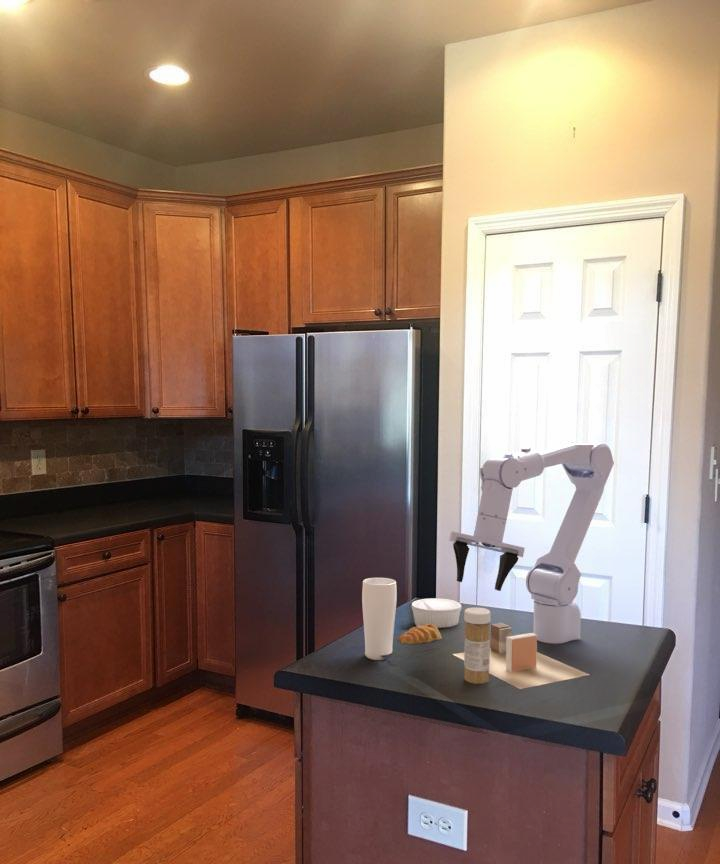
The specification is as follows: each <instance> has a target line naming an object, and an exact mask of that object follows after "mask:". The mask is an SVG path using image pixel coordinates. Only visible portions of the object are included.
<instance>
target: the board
mask: <svg viewBox="0 0 720 864" xmlns="http://www.w3.org/2000/svg"><path fill="white" fill-rule="evenodd" d="M452 655H453V656H455V657H456V658H458V659H460V660H462V661H464V652H458V653H452ZM489 675H492V676H493V677H495V678H497V679H499V680H501V681H503V682H504V683H506V684H509V685H510V686H512V687H514V688H516V689H518V690H525V689H529V688H533V687H538V686H543V685H549V684H553V683H557V682H562V681H566V680H567V681H568V680H572V679H577V678H578V679H579V678H582V677H587V676H590V674H589V673H587V672H584V671H581V670H580V669H577V668H575V667H572V666H571V665H568V664H566V663H564V662H561V661H558V659H557V660H556V659H555V658H553V657H552V658H551V657H549V656H547V655H545V654H542V653H540V652H538V651H537V667H534V668H529V669H524V670H519V671H513V672H510V671H508V670H506V653H504V654H500V653H497V652H495V651H493V650H491V647H490V666H489Z"/></svg>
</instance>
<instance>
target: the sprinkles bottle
mask: <svg viewBox="0 0 720 864" xmlns="http://www.w3.org/2000/svg"><path fill="white" fill-rule="evenodd" d="M491 614H492V613H491V610H489V609H488V608H485V607H468V608H465V610H464V614H463V615H464V616H463V617H464V619H463V621H464V623H465V624H464V628H465V629H464V648H463V649H464V652H463V653H464V660H463V662H464V663H463V665H464V680H465V681H466V682H468V683H470V684H474V685H475V684H476V685H477V684H478V685H480V684H481V685H482V684H486V683H488V682H490V679H489V678H490V674H489V666H490V648H491V638H490V626H491V622H492V621H491V619H492V618H491V616H492V615H491Z"/></svg>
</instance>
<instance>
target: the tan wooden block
mask: <svg viewBox="0 0 720 864" xmlns="http://www.w3.org/2000/svg"><path fill="white" fill-rule="evenodd" d="M512 629H513V628H512V627H510V625H508V624H505V623H503V622H498V623H490V648H491V650H493V651H495V652H497V653H500V654H504V653H506V637H509V636H513V635H512V633H513V632H512V631H513V630H512Z"/></svg>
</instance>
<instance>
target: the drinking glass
mask: <svg viewBox="0 0 720 864" xmlns="http://www.w3.org/2000/svg"><path fill="white" fill-rule="evenodd" d="M361 589H362V590H361V591H362V592H361V602H362V604H361V605H362V619H363V631H364V633H363V634H364V648H365V649H364V654H365V657H366V658H368V659H369V660H373V661H386V660H387V659H386V657H384V656H388V655H390V654H392V653H393V640H394V634H395V633H394V631H395V623H396V622H395V620H396V609H397V596H398V595H397V594H398V593H397V590H398V589H397V581H396V580H395V579H393V578H390V577H389V578H388V577H369V578H365V579H363V581H362V588H361Z"/></svg>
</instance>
